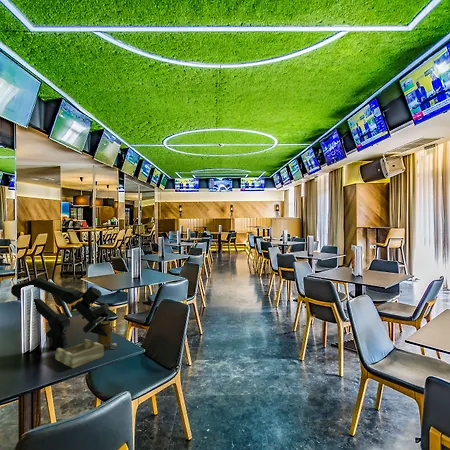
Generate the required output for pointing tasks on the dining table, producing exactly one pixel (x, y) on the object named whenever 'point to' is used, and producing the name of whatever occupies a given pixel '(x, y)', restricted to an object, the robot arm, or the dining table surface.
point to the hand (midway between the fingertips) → (109, 333)
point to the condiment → (106, 339)
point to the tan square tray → (80, 353)
